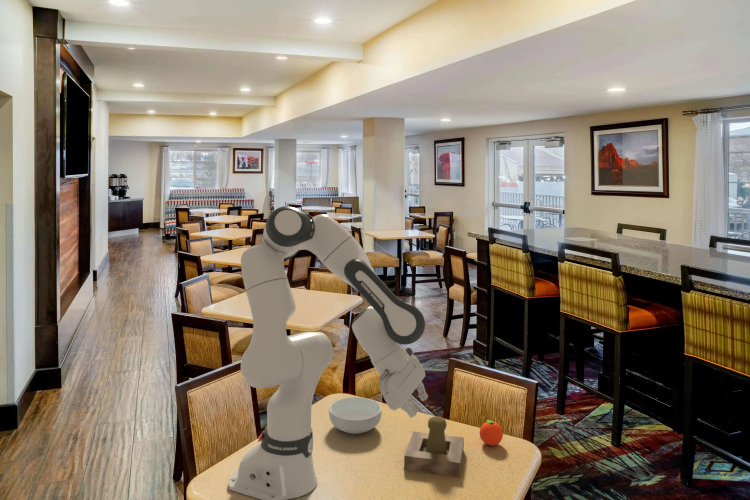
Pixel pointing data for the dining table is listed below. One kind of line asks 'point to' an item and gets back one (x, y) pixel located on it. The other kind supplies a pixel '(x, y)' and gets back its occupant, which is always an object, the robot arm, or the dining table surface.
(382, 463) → the dining table surface
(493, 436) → the clementine
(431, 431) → the olive pepper mill
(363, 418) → the cereal bowl
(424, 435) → the socket block
